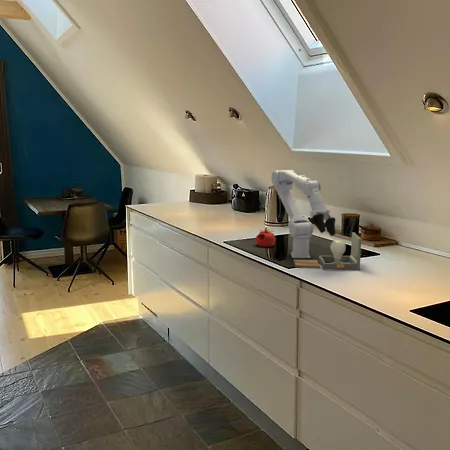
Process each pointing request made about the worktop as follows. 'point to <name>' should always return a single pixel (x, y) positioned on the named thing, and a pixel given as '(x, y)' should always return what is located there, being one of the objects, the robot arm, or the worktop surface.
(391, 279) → the worktop surface
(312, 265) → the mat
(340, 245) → the lightbulb
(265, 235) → the pomegranate
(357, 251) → the case
